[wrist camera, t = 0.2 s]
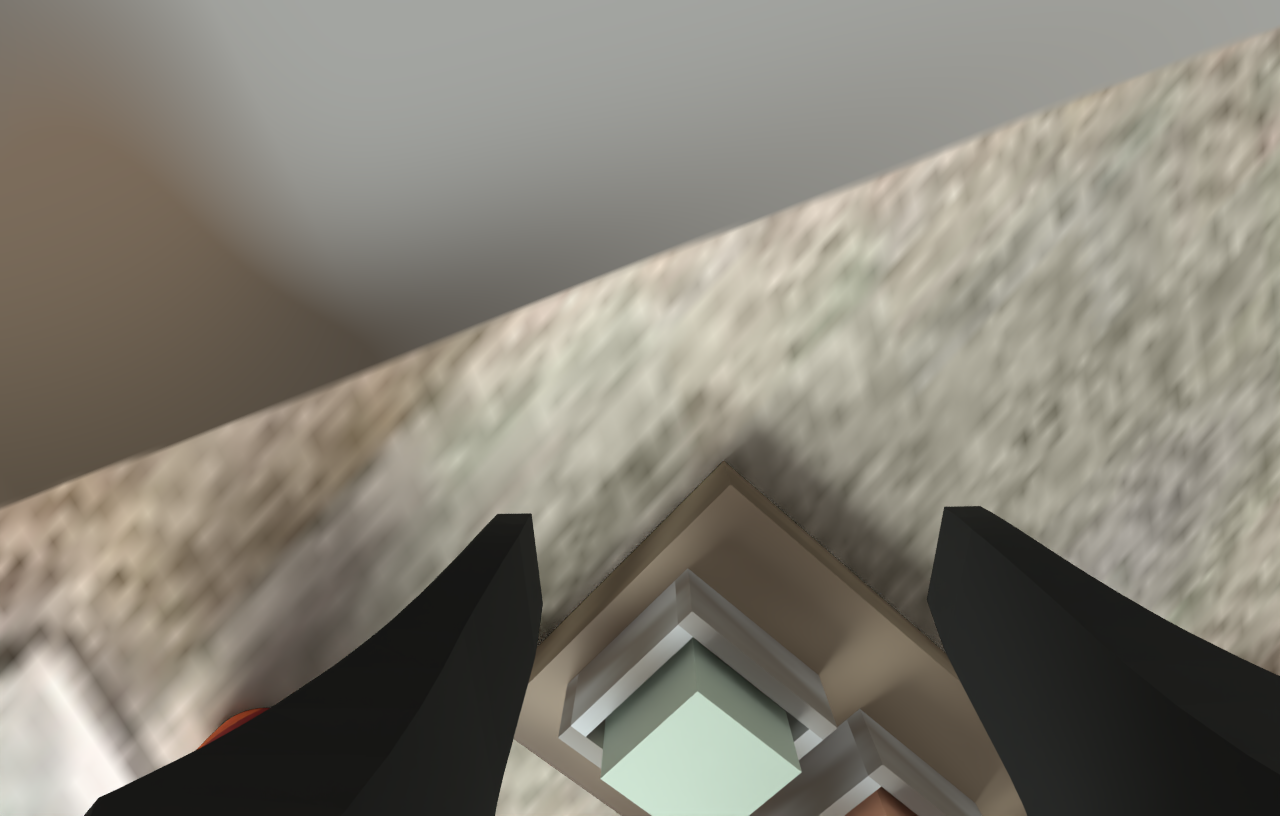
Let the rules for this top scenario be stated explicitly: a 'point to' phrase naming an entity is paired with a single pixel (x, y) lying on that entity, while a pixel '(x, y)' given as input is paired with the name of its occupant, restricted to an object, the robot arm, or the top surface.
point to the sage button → (698, 741)
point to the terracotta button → (880, 806)
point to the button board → (768, 664)
